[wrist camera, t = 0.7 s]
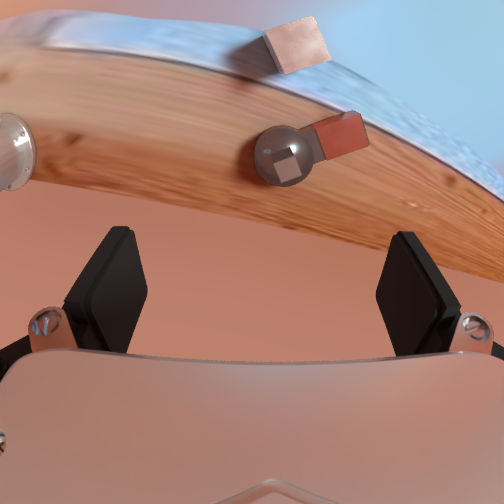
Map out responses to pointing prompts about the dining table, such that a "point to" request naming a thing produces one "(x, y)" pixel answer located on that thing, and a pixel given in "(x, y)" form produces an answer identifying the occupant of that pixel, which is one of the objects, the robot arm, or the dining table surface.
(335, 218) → the dining table surface
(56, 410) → the robot arm
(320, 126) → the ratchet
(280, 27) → the brushed aluminum cube
